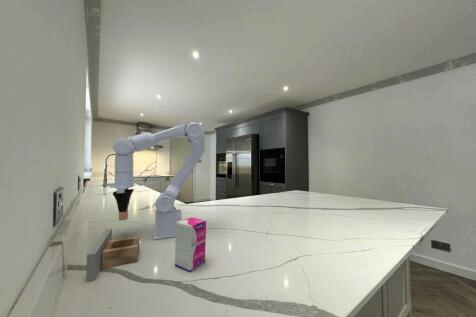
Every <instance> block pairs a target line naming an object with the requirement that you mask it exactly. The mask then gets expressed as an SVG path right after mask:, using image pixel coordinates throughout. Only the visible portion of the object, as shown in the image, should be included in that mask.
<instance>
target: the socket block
mask: <svg viewBox="0 0 476 317" xmlns="http://www.w3.org/2000/svg"><path fill="white" fill-rule="evenodd" d="M140 237H141V236H134V237H126V238H119V239H112V240H110V241H108V243H107V245H106V247H105V248H104V250H103V252H102V267H101V269H106V268H111V267H116V266H121V265H128V264H132V263H137V262H138V261H139V255H140V248H141V247H140V245H141V244H140V242H141V241H140V240H141V239H140Z"/></svg>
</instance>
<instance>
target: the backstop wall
mask: <svg viewBox="0 0 476 317" xmlns="http://www.w3.org/2000/svg"><path fill="white" fill-rule="evenodd" d="M110 240H113V228H107V229H105V230H104V231H103V233H102V234H100V237H99V238H98V239H97V240H96V242H95V243H94V245H93V246H92V247H91V249H90V251H88V252H87V254H86V279H85V280H86V281H85V282H91V281H92V282H93V281H96V279H97V277H98V275H99V273H100V271H101V269H102V252H103V250H104V248H105V247H106V245H107V243H108V241H110Z"/></svg>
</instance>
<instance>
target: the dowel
mask: <svg viewBox="0 0 476 317" xmlns="http://www.w3.org/2000/svg"><path fill="white" fill-rule="evenodd" d="M128 219H129V206H127V210H126V212H119V211H118V221H126V220H128Z"/></svg>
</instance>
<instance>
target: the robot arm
mask: <svg viewBox="0 0 476 317" xmlns="http://www.w3.org/2000/svg"><path fill="white" fill-rule="evenodd" d="M205 134H206V133H205V131H204V128H203V126H202V125H201V124H200V123H198V122H196V121H191V122H189V123H183V124H179V125H176V126H173V127H171V128H168V129H164V130H162V131H159V132H155V133H151V132H150V131H149V132H147V131H146V132H145V131H141V132H140V134H135V135H133V136H130V135H128V136H126V137H127V138H125V137H119V138H118V139H116V140H114V142H113V143H112V149H113V151H114V152H115V155H114V181H113V182H114V184H112V185H110V186H109V188H114V189H115V191H113V192H112V196H113V197H114V199H115V201H116V204H117V210H118V213H119V212H126V210H127V206H128V207H129V206H130V205H129V204H130V200H131V198H132V195H133V192H134V186H135V185H134V154H135V152H136V153H137V152H142V151H144V150H147V149H151V148H154V147H156V144H157V143H158V142H162V141H166V140H170V139H173V138H176V137H178V138H182V139H187V141H188V142H189V144H190V148H191V151H190V153H189V154H188V155H187V157H186V158H185V160H184V162H183V164H182V165H181V167H180V168H179V170H178V171H177V173H176V174H175V175H174V177H173V179H172V180H171V182H170V183H169V185H168V186H167V188H166V189H165V190H164V191H163V192H161V193H160V194H159V195H158V197H157V198H156V200H155V201H154V202H155V203H154V206H155V208H156V209H155V212H154V215H155V218H154V222H155V223H154V227H155V228H154V231H153V240H162V239H167V238H168V239H169V238H174V237H175V238H176V222H178V221H181V220H183V217H182V216H183V215H182V214H183V213H182V209H177V208H176V207H175V201H176V198H177V196H178V195H179V193H180V191H181V189H182V187H183V186H184V184H186V182H187V180H188V178H189V177H190V175H191V174H192V172H193V170H194V169H195V168H196V166H197V164H198V163H199V161H200V160H201V158H202V156H203V155H204V153H205V152H206V151H205V150H206V146H205V143H206V142H205V139H206V138H205ZM185 137H186V138H185Z"/></svg>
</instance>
